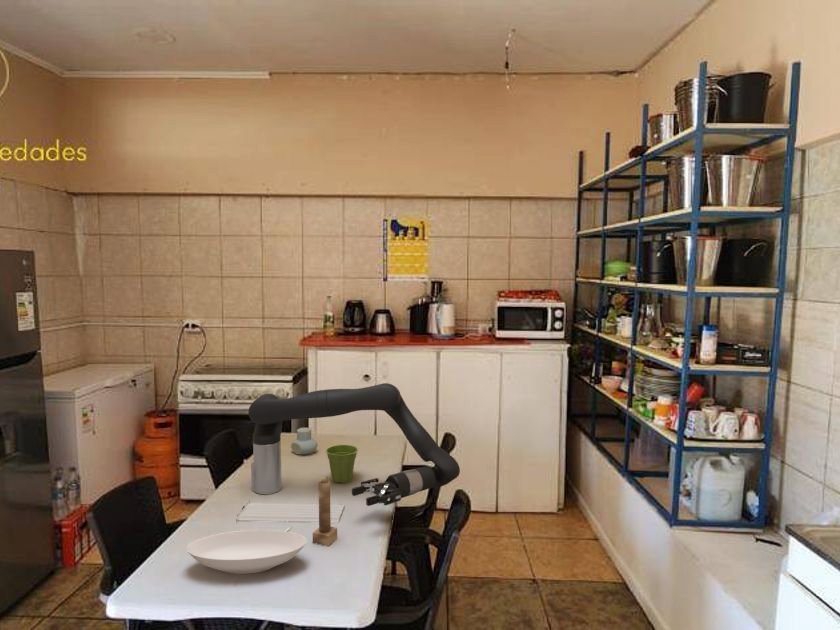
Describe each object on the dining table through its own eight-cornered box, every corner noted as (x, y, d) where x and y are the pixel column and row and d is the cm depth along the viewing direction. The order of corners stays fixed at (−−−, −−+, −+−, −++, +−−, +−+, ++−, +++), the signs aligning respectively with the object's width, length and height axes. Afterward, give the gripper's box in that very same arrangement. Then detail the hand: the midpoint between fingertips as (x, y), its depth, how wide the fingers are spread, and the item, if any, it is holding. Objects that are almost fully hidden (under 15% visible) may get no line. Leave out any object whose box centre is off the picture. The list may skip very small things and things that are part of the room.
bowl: (177, 586, 129) (176, 562, 129) (198, 553, 144) (197, 531, 144) (302, 581, 131) (301, 557, 131) (310, 549, 146) (310, 528, 146)
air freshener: (320, 453, 223) (320, 429, 222) (304, 458, 217) (303, 434, 216) (304, 447, 230) (304, 424, 230) (288, 452, 224) (288, 429, 223)
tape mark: (277, 536, 153) (277, 536, 153) (289, 527, 158) (289, 526, 158) (280, 537, 152) (280, 536, 152) (292, 527, 158) (292, 527, 158)
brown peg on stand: (312, 543, 149) (311, 480, 148) (322, 534, 154) (321, 473, 153) (328, 546, 148) (327, 482, 146) (337, 537, 153) (337, 475, 151)
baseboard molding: (337, 527, 160) (344, 509, 172) (337, 518, 160) (344, 500, 172) (235, 525, 161) (249, 507, 173) (235, 516, 161) (249, 499, 173)
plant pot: (348, 487, 187) (348, 456, 186) (319, 483, 192) (319, 452, 191) (364, 476, 198) (364, 446, 197) (336, 471, 203) (336, 442, 202)
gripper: (391, 465, 172) (347, 477, 162) (418, 479, 160) (371, 492, 151) (392, 488, 172) (347, 501, 163) (418, 503, 161) (372, 518, 151)
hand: (359, 497), depth 157 cm, fingers open, 8 cm apart
